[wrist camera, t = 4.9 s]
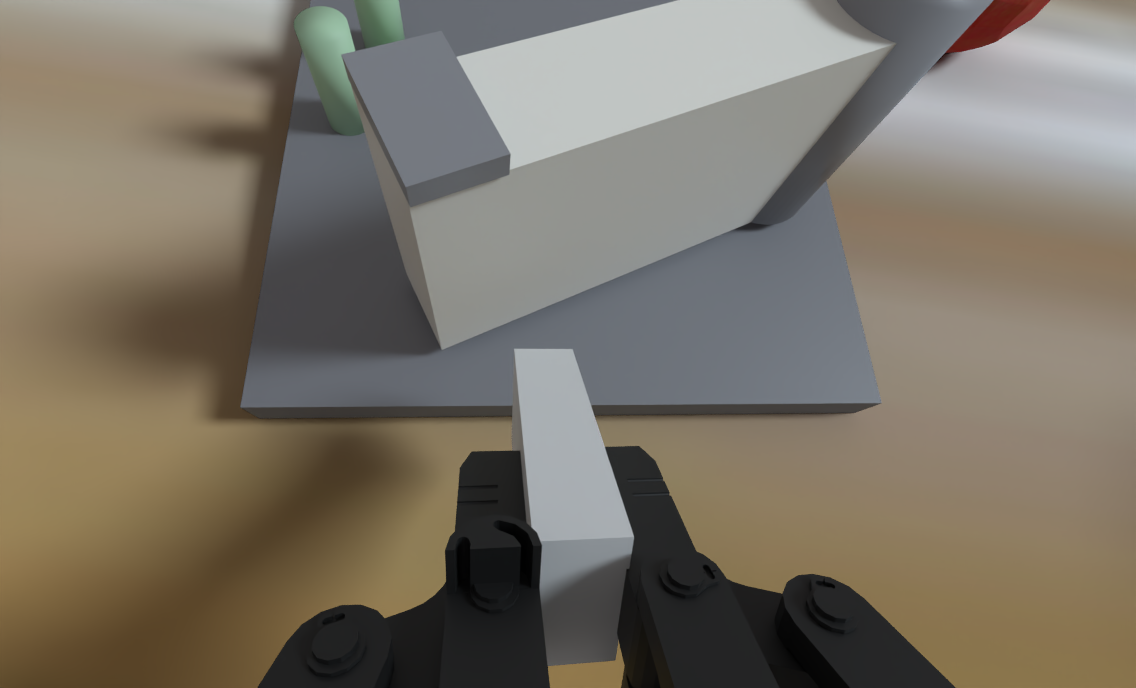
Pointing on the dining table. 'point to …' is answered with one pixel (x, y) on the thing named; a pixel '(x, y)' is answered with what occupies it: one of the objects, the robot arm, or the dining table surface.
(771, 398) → the dial plate
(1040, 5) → the apple
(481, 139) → the white slab
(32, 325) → the dining table surface
